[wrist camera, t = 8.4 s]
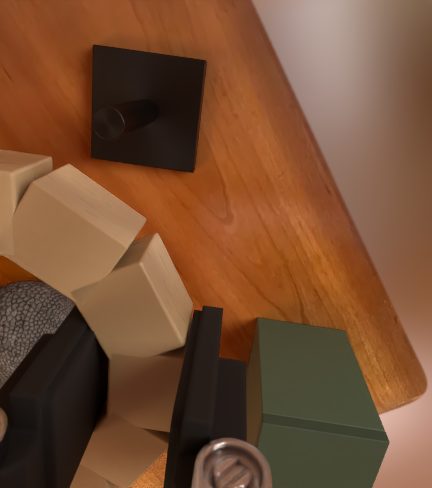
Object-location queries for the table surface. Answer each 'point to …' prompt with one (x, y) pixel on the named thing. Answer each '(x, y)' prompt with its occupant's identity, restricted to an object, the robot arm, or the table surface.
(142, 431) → the ring
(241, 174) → the table surface
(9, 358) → the decorative ball
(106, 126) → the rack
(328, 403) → the block
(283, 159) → the table surface
